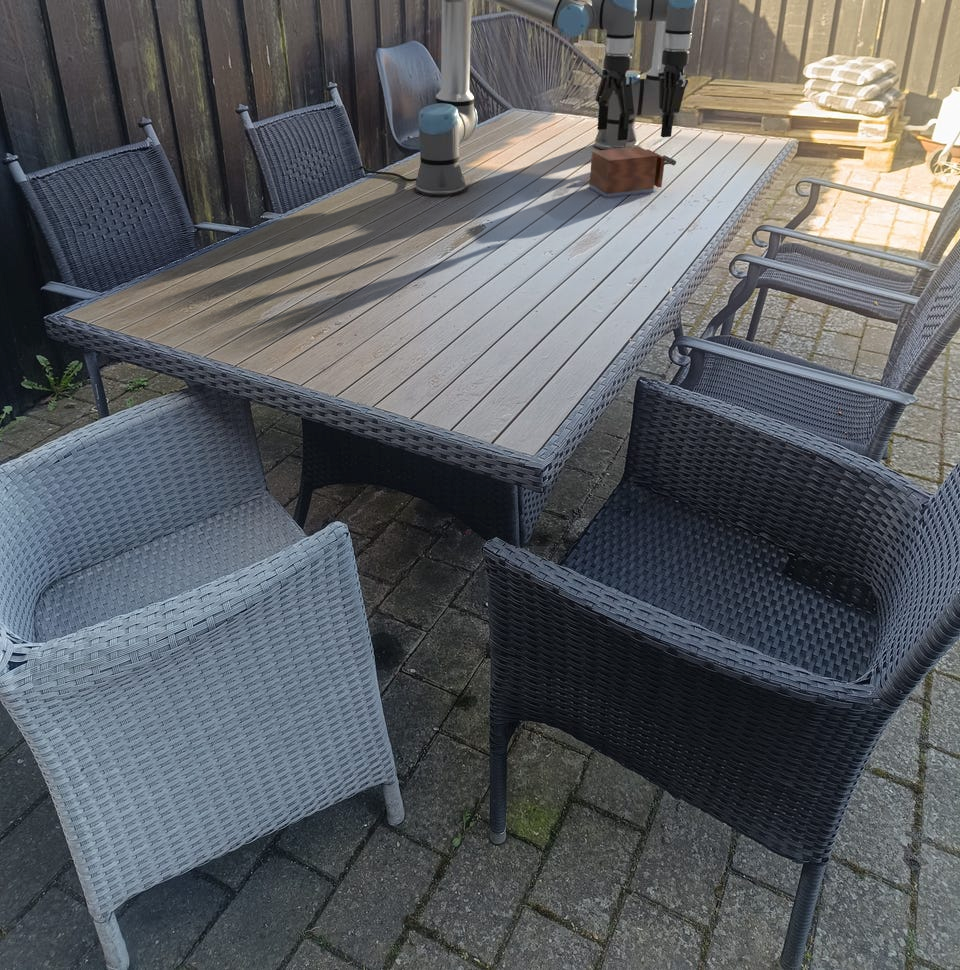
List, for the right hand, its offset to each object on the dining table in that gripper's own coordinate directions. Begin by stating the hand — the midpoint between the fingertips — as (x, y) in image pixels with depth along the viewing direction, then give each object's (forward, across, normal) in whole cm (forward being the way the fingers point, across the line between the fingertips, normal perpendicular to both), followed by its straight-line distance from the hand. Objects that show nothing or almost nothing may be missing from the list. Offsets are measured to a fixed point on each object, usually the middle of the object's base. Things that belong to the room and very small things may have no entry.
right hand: (665, 136), depth 254 cm
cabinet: (+14, 0, +14) cm, 20 cm away
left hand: (-2, -1, +19) cm, 19 cm away
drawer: (+13, 0, +7) cm, 15 cm away
